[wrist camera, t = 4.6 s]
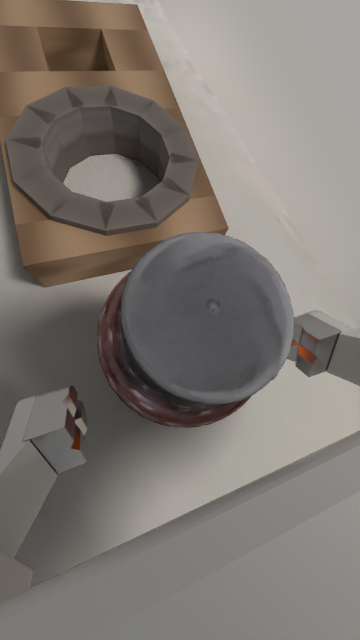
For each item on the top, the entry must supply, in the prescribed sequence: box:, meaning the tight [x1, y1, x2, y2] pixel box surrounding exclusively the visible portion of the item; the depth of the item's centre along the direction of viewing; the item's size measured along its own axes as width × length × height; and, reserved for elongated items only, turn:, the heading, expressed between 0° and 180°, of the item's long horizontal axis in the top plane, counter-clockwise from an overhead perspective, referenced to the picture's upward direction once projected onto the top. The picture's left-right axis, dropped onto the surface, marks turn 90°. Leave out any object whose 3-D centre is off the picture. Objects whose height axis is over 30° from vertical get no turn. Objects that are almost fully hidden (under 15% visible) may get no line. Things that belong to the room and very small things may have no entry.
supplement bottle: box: [97, 232, 294, 428], centre depth 10 cm, size 6×6×11 cm
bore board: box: [0, 0, 228, 287], centre depth 18 cm, size 13×24×4 cm, turn 18°
